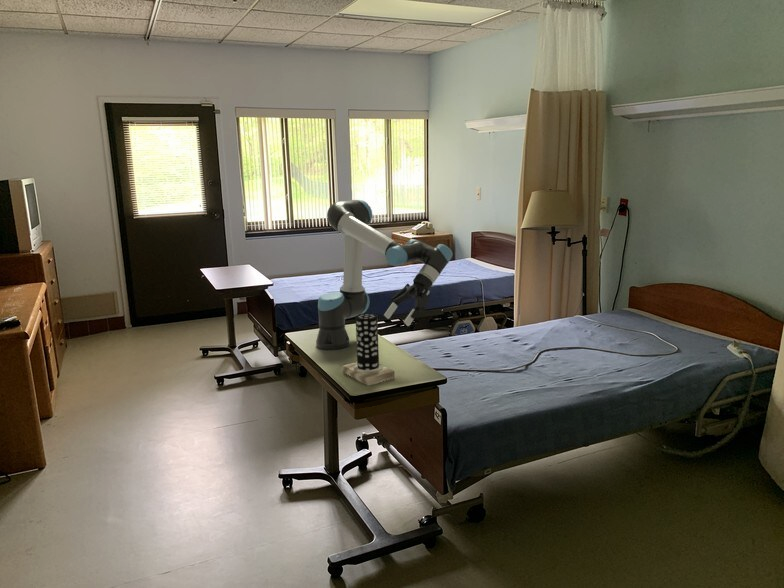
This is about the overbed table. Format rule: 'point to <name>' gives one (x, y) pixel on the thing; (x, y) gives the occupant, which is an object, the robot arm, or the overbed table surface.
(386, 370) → the plinth
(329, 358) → the overbed table surface
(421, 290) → the robot arm
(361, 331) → the spotted tube
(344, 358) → the overbed table surface
